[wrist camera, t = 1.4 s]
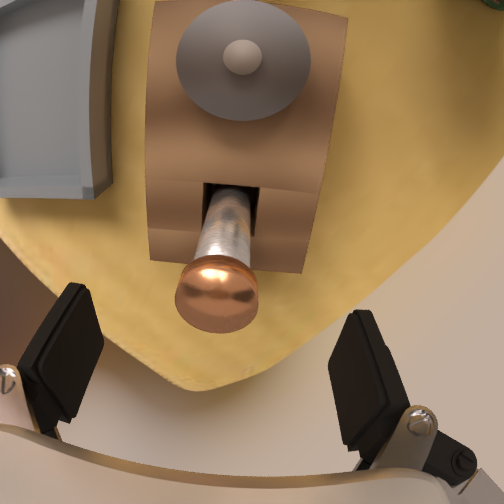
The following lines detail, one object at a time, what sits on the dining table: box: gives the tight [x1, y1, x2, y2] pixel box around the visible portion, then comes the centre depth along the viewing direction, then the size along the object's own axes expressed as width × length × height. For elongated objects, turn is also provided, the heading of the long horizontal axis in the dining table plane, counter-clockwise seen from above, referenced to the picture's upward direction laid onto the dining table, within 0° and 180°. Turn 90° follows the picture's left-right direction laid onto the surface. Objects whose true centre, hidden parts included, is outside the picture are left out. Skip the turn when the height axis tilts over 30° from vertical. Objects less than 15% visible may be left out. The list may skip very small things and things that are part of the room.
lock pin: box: [175, 183, 258, 333], centre depth 16 cm, size 3×3×13 cm
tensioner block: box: [145, 0, 348, 274], centre depth 17 cm, size 16×10×9 cm, turn 174°
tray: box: [0, 0, 119, 200], centre depth 16 cm, size 18×14×4 cm
